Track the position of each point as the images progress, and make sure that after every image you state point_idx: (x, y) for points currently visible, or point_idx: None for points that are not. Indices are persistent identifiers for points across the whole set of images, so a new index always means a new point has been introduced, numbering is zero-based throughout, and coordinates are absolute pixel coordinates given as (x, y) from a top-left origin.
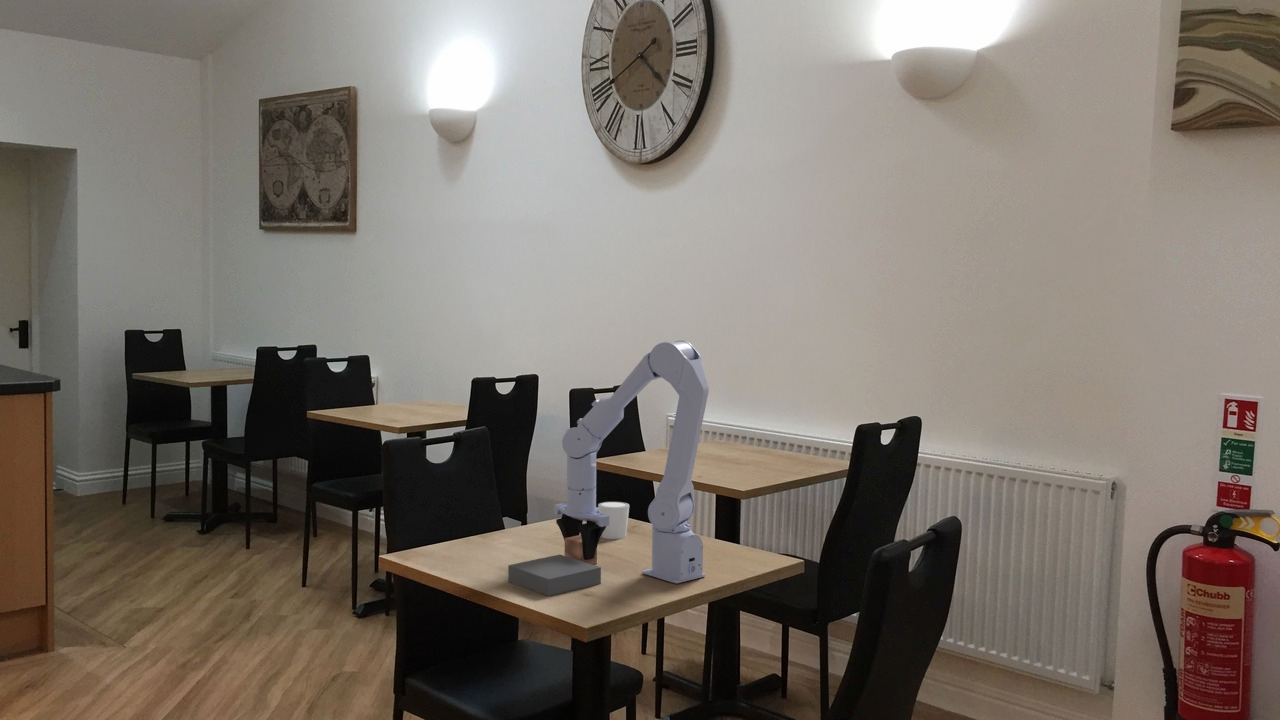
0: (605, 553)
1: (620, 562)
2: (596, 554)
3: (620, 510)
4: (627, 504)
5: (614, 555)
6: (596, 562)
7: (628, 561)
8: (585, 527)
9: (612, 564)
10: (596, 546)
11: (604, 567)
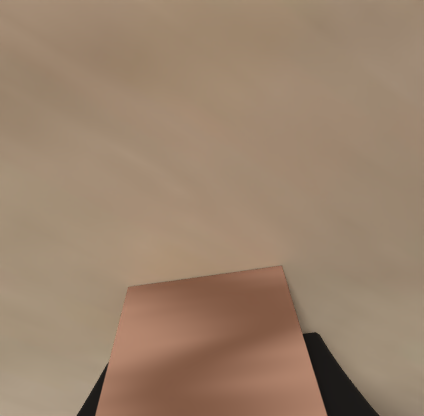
0: (26, 49)
1: (355, 101)
2: (295, 314)
3: None
4: None
5: (128, 12)
6: (283, 275)
7: (377, 18)
8: None
9: (358, 185)
10: (365, 404)
11: (379, 264)
